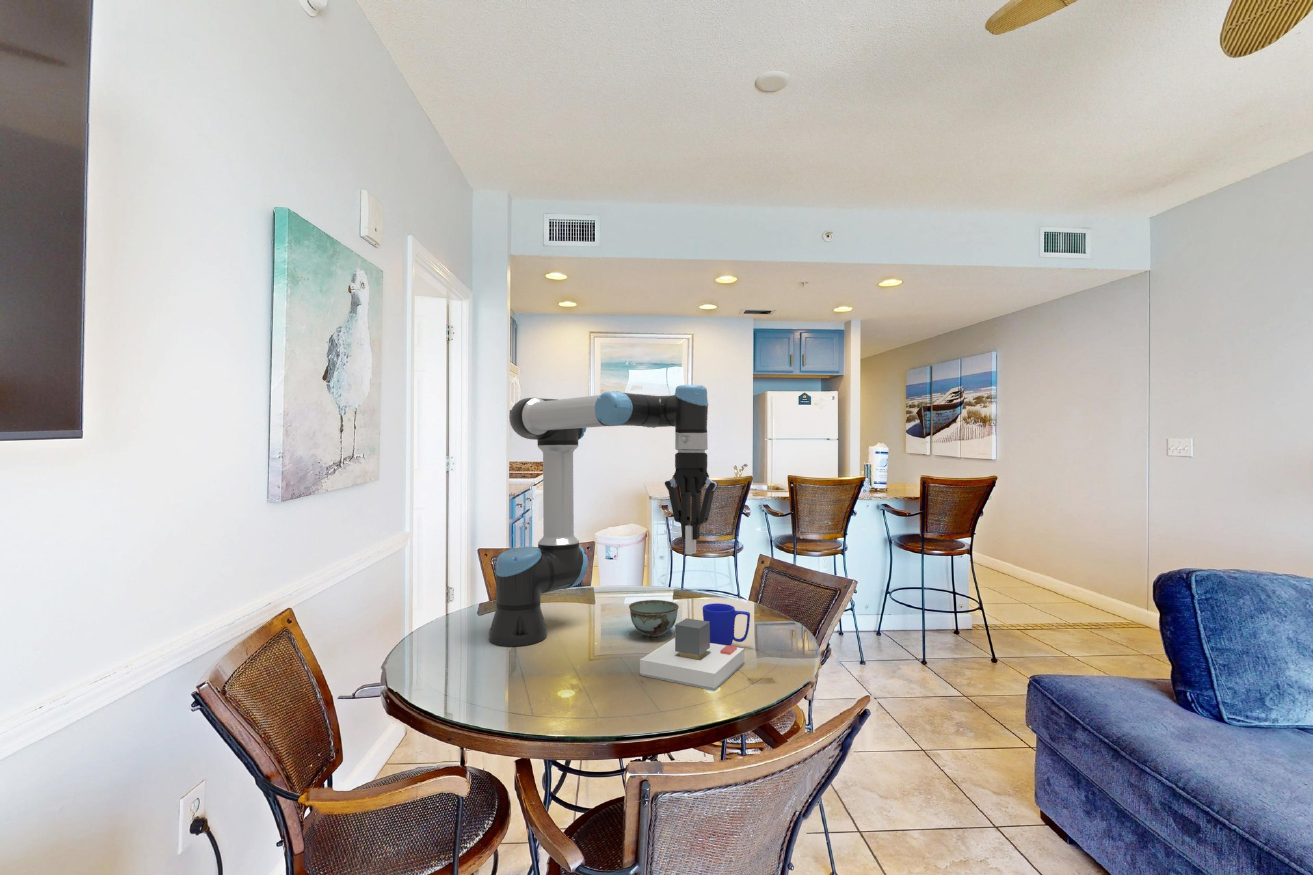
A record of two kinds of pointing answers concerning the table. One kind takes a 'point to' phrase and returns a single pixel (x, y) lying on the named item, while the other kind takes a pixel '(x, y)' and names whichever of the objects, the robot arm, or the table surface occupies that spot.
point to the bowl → (653, 617)
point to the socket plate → (693, 665)
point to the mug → (723, 623)
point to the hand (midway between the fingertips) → (690, 553)
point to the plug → (692, 638)
